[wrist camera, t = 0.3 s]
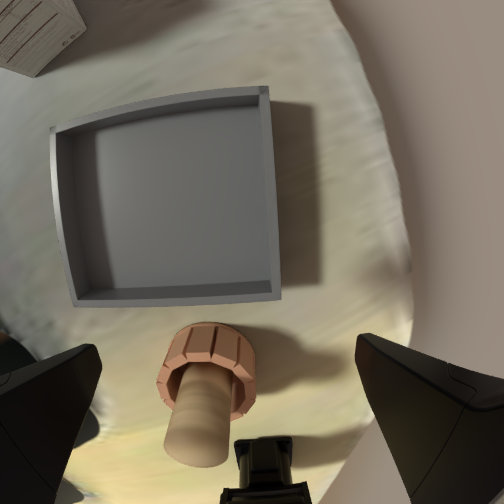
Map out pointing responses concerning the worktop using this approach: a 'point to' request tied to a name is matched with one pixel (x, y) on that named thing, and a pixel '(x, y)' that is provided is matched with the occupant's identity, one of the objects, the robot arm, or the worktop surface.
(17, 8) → the supplement box
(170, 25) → the worktop surface
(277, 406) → the worktop surface
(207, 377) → the dowel
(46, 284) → the worktop surface
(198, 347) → the pink short hollow cylinder
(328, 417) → the worktop surface
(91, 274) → the tray
